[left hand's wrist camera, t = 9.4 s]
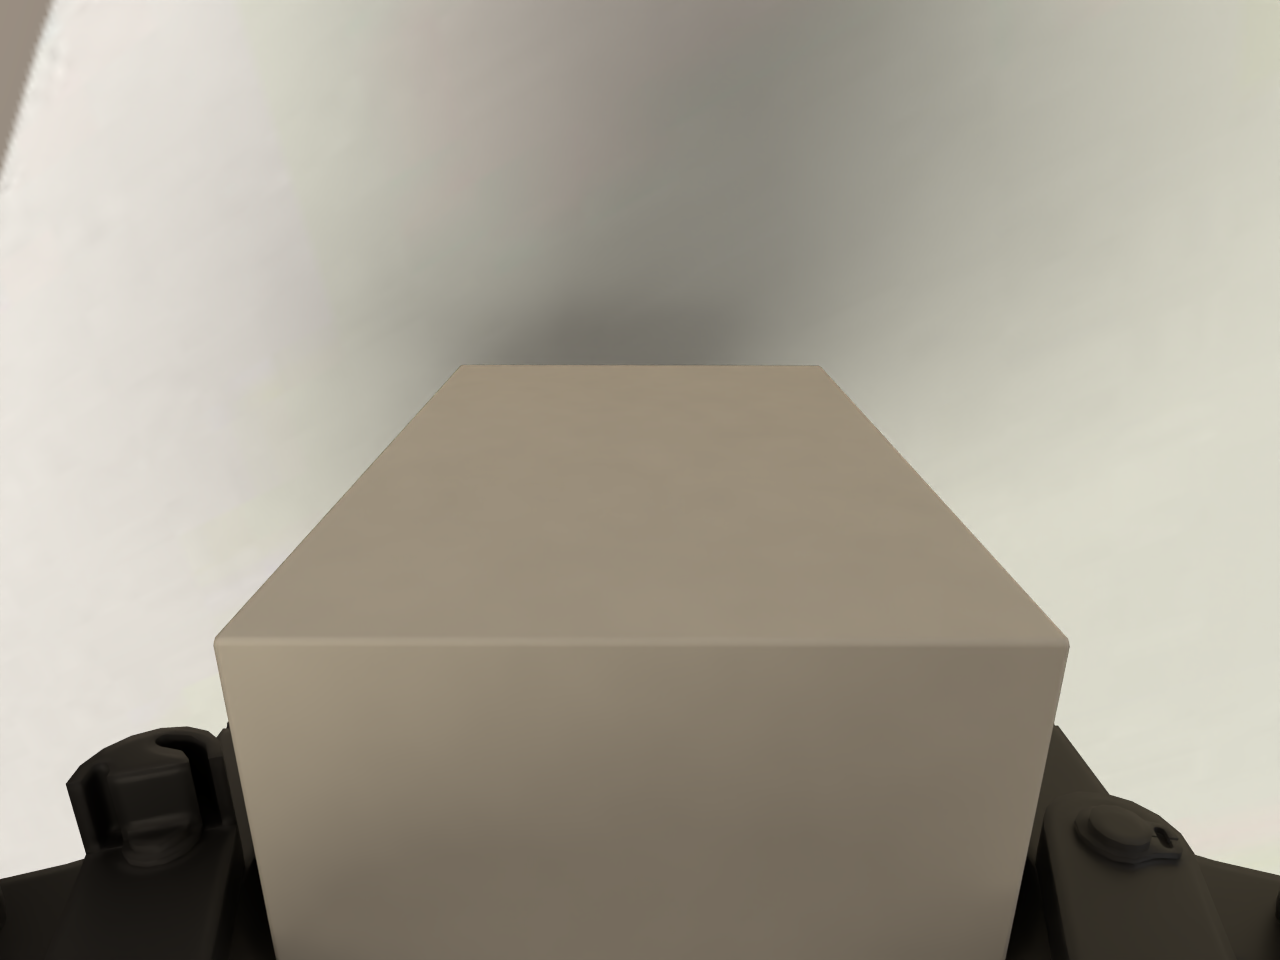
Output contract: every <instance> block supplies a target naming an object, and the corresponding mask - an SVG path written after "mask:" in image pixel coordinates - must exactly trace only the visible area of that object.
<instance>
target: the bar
mask: <svg viewBox="0 0 1280 960" xmlns="http://www.w3.org/2000/svg"><path fill="white" fill-rule="evenodd" d="M1069 647H1070V646H1069V641H1068V638H1067V637H1066V636H1065V635H1064V634H1063V633H1062V632H1061V631H1060V629H1059V628H1058V627H1057V626H1056V625H1055V624H1054V623H1053V622H1052V621H1051V620H1050V618H1049V617H1048V616H1047V615H1046V614H1045V613H1044V612H1043V611H1042V610H1041V609H1040V607H1039V606H1038V605H1037V604H1036V603H1035V602H1034V601H1033V600H1032V599H1031V598H1030V596H1029V595H1028V594H1027V593H1026V592H1025V591H1024V590H1023V589H1022V588H1021V587H1020V585H1019V584H1018V583H1017V582H1016V581H1015V580H1014V579H1013V578H1012V577H1011V576H1010V574H1009V573H1008V572H1007V571H1006V570H1005V569H1004V568H1003V567H1002V566H1001V565H1000V563H999V562H998V561H997V560H996V559H995V558H994V557H993V556H992V555H991V554H990V552H989V551H988V550H987V549H986V548H985V547H984V546H983V545H982V544H981V543H980V541H979V540H978V539H977V538H976V537H975V536H974V535H973V534H972V533H971V532H970V530H969V529H968V528H967V527H966V526H965V525H964V524H963V523H962V522H961V521H960V519H959V518H958V517H957V516H956V515H955V514H954V513H953V512H952V511H951V510H950V508H949V507H948V506H947V505H946V504H945V503H944V502H943V501H942V500H941V499H940V497H939V496H938V495H937V494H936V493H935V492H934V491H933V490H932V489H931V488H930V486H929V485H928V484H927V483H926V482H925V481H924V480H923V479H922V478H921V477H920V475H919V474H918V473H917V472H916V471H915V470H914V469H913V468H912V467H911V466H910V464H909V463H908V462H907V461H906V460H905V459H904V458H903V457H902V456H901V455H900V453H899V452H898V451H897V450H896V449H895V448H894V447H893V446H892V445H891V444H890V442H889V441H888V440H887V439H886V438H885V437H884V436H883V435H882V434H881V433H880V431H879V430H878V429H877V428H876V427H875V426H874V425H873V424H872V423H871V422H870V420H869V419H868V418H867V417H866V416H865V415H864V414H863V413H862V412H861V411H860V409H859V408H858V407H857V406H856V405H855V404H854V403H853V402H852V401H851V400H850V398H849V397H848V396H847V395H846V394H845V393H844V392H843V391H842V390H841V389H840V387H839V386H838V385H837V384H836V383H835V382H834V381H833V380H832V379H831V378H830V376H829V375H828V374H827V373H826V372H825V371H824V370H823V369H822V368H821V367H820V366H747V365H462V366H460V367H459V368H458V369H457V370H456V371H455V373H454V374H453V375H452V376H451V377H450V378H449V379H448V380H447V381H446V383H445V384H444V385H443V386H442V387H441V388H440V389H439V390H438V391H437V393H436V394H435V395H434V396H433V397H432V398H431V399H430V400H429V401H428V402H427V404H426V405H425V406H424V407H423V408H422V409H421V410H420V411H419V412H418V414H417V415H416V416H415V417H414V418H413V419H412V420H411V421H410V422H409V423H408V425H407V426H406V427H405V428H404V429H403V430H402V431H401V432H400V433H399V435H398V436H397V437H396V438H395V439H394V440H393V441H392V442H391V443H390V445H389V446H388V447H387V448H386V449H385V450H384V451H383V452H382V453H381V454H380V456H379V457H378V458H377V459H376V460H375V461H374V462H373V463H372V464H371V466H370V467H369V468H368V469H367V470H366V471H365V472H364V473H363V474H362V475H361V477H360V478H359V479H358V480H357V481H356V482H355V483H354V484H353V485H352V487H351V488H350V489H349V490H348V491H347V492H346V493H345V494H344V495H343V497H342V498H341V499H340V500H339V501H338V502H337V503H336V504H335V505H334V506H333V508H332V509H331V510H330V511H329V512H328V513H327V514H326V515H325V516H324V518H323V519H322V520H321V521H320V522H319V523H318V524H317V525H316V526H315V528H314V529H313V530H312V531H311V532H310V533H309V534H308V535H307V536H306V537H305V539H304V540H303V541H302V542H301V543H300V544H299V545H298V546H297V547H296V549H295V550H294V551H293V552H292V553H291V554H290V555H289V556H288V557H287V558H286V560H285V561H284V562H283V563H282V564H281V565H280V566H279V567H278V568H277V570H276V571H275V572H274V573H273V574H272V575H271V576H270V577H269V578H268V580H267V581H266V582H265V583H264V584H263V585H262V586H261V587H260V588H259V589H258V591H257V592H256V593H255V594H254V595H253V596H252V597H251V598H250V599H249V601H248V602H247V603H246V604H245V605H244V606H243V607H242V608H241V609H240V611H239V612H238V613H237V614H236V615H235V616H234V617H233V618H232V619H231V620H230V622H229V623H228V624H227V625H226V626H225V627H224V628H223V629H222V630H221V632H220V633H219V634H218V635H217V636H216V637H215V640H214V650H215V655H216V660H217V665H218V670H219V675H220V680H221V685H222V690H223V695H224V700H225V705H226V710H227V715H228V721H229V726H230V731H231V736H232V741H233V746H234V751H235V756H236V761H237V766H238V771H239V776H240V781H241V786H242V791H243V796H244V801H245V806H246V811H247V816H248V821H249V826H250V831H251V836H252V841H253V846H254V851H255V856H256V861H257V866H258V871H259V876H260V881H261V886H262V891H263V896H264V901H265V906H266V911H267V916H268V921H269V926H270V931H271V936H272V941H273V946H274V951H275V956H276V960H1005V958H1006V954H1007V949H1008V944H1009V939H1010V934H1011V929H1012V924H1013V919H1014V915H1015V910H1016V905H1017V900H1018V895H1019V890H1020V885H1021V881H1022V876H1023V871H1024V866H1025V861H1026V856H1027V851H1028V847H1029V842H1030V837H1031V832H1032V827H1033V822H1034V817H1035V813H1036V808H1037V803H1038V798H1039V793H1040V788H1041V783H1042V779H1043V774H1044V769H1045V764H1046V759H1047V754H1048V749H1049V745H1050V740H1051V735H1052V730H1053V725H1054V720H1055V715H1056V710H1057V706H1058V701H1059V696H1060V691H1061V686H1062V681H1063V676H1064V672H1065V667H1066V662H1067V657H1068V652H1069Z"/></svg>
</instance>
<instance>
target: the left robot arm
mask: <svg viewBox="0 0 1280 960" xmlns="http://www.w3.org/2000/svg"><path fill="white" fill-rule="evenodd" d="M66 787H67V790H68V793H69V797H70V800H71V804H72V807H73V811H74V814H75V818H76V821H77V824H78V828H79V831H80V835H81V838H82V842H83V845H84V848H85V852H86V856H85V858H84V859H82V860H78V861H75V862H72V863H68V864H65V865H60V866H56V867H51V868H47V869H43V870H38V871H34V872H30V873H25V874H21V875H17V876H12V877H8V878H3V879H0V960H276V956H275V951H274V946H273V941H272V936H271V931H270V926H269V921H268V916H267V911H266V906H265V901H264V896H263V891H262V886H261V881H260V876H259V871H258V866H257V861H256V856H255V851H254V846H253V841H252V836H251V831H250V826H249V821H248V816H247V811H246V806H245V801H244V796H243V791H242V786H241V781H240V776H239V771H238V766H237V761H236V756H235V751H234V746H233V741H232V736H231V731H230V726H229V721H228V723H227V728H226V729H222V731H221V732H220V734H219V735H218V736H217V738H216V737H215V736H214V735H212V734H211V733H210V732H209V731H206V730H201V729H197V728H192V727H171V728H159V729H155V730H152V731H148V732H144V733H140V734H136V735H133V736H130V737H128V738H126V739H123V740H121V741H119V742H117V743H115V744H113V745H110V746H108V747H106V748H104V749H102V750H101V751H100V752H98V753H97V754H95V755H94V756H93V757H91V758H90V759H88V760H87V761H86V762H84V763H83V764H82V765H80V766H79V768H78V769H77V770H76V771H75V773H74V774H73V775H72V777H71V778H70V779H69V780H68V782H67V783H66ZM1005 960H1280V875H1275V874H1271V873H1266V872H1262V871H1258V870H1253V869H1249V868H1244V867H1240V866H1236V865H1231V864H1227V863H1223V862H1218V861H1214V860H1211V859H1207V858H1204V857H1201V856H1197V855H1195V854H1194V852H1193V851H1192V849H1191V848H1190V846H1189V845H1188V843H1187V842H1186V840H1185V839H1184V837H1183V836H1182V834H1181V833H1180V832H1178V831H1177V830H1176V829H1175V828H1174V827H1172V826H1171V825H1170V824H1169V823H1168V822H1166V821H1165V820H1164V819H1163V818H1162V817H1160V816H1159V815H1157V814H1155V813H1153V812H1152V811H1150V810H1148V809H1146V808H1144V807H1142V806H1140V805H1138V804H1136V803H1134V802H1132V801H1129V800H1126V799H1122V798H1119V797H1116V796H1112V795H1109V793H1108V792H1107V791H1106V789H1105V788H1104V787H1103V785H1102V784H1101V783H1100V781H1099V780H1098V779H1097V777H1096V776H1095V775H1094V773H1093V772H1092V771H1091V769H1090V768H1089V767H1088V765H1087V764H1086V763H1085V761H1084V760H1083V759H1082V757H1081V756H1080V754H1079V753H1078V752H1077V750H1076V749H1075V748H1074V746H1073V745H1072V744H1071V742H1070V741H1069V740H1068V738H1067V737H1066V736H1065V734H1064V733H1063V732H1062V730H1061V729H1060V728H1059V726H1055V725H1053V730H1052V735H1051V740H1050V745H1049V749H1048V754H1047V759H1046V764H1045V769H1044V774H1043V779H1042V783H1041V788H1040V793H1039V798H1038V803H1037V808H1036V813H1035V817H1034V822H1033V827H1032V832H1031V837H1030V842H1029V847H1028V851H1027V856H1026V861H1025V866H1024V871H1023V876H1022V881H1021V885H1020V890H1019V895H1018V900H1017V905H1016V910H1015V915H1014V919H1013V924H1012V929H1011V934H1010V939H1009V944H1008V949H1007V954H1006V958H1005Z"/></svg>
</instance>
